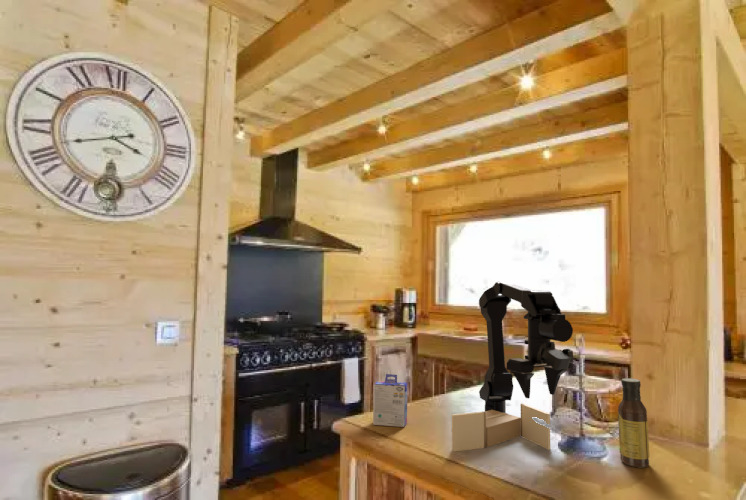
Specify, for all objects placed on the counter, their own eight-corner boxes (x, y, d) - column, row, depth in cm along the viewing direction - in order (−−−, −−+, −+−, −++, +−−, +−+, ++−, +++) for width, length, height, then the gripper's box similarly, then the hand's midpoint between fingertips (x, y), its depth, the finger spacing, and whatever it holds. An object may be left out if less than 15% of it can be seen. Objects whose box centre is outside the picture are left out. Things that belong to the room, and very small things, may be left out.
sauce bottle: (630, 456, 114) (628, 375, 115) (655, 466, 108) (652, 380, 109) (613, 460, 111) (611, 378, 112) (638, 470, 105) (635, 383, 107)
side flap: (520, 436, 128) (519, 403, 129) (523, 435, 128) (522, 403, 129) (547, 449, 118) (547, 414, 119) (550, 449, 118) (550, 413, 119)
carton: (491, 426, 136) (491, 408, 137) (520, 435, 128) (520, 416, 129) (458, 436, 127) (458, 417, 128) (487, 446, 119) (487, 426, 120)
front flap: (451, 450, 117) (451, 414, 117) (484, 446, 120) (484, 411, 120) (453, 451, 116) (453, 415, 116) (486, 447, 119) (486, 412, 119)
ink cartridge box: (407, 422, 140) (408, 374, 141) (405, 427, 134) (405, 378, 135) (376, 420, 142) (376, 372, 143) (372, 425, 136) (373, 376, 137)
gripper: (537, 342, 111) (538, 407, 110) (588, 339, 120) (589, 399, 118) (504, 337, 121) (505, 397, 120) (553, 334, 129) (554, 390, 128)
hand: (539, 396), depth 121 cm, fingers open, 9 cm apart
